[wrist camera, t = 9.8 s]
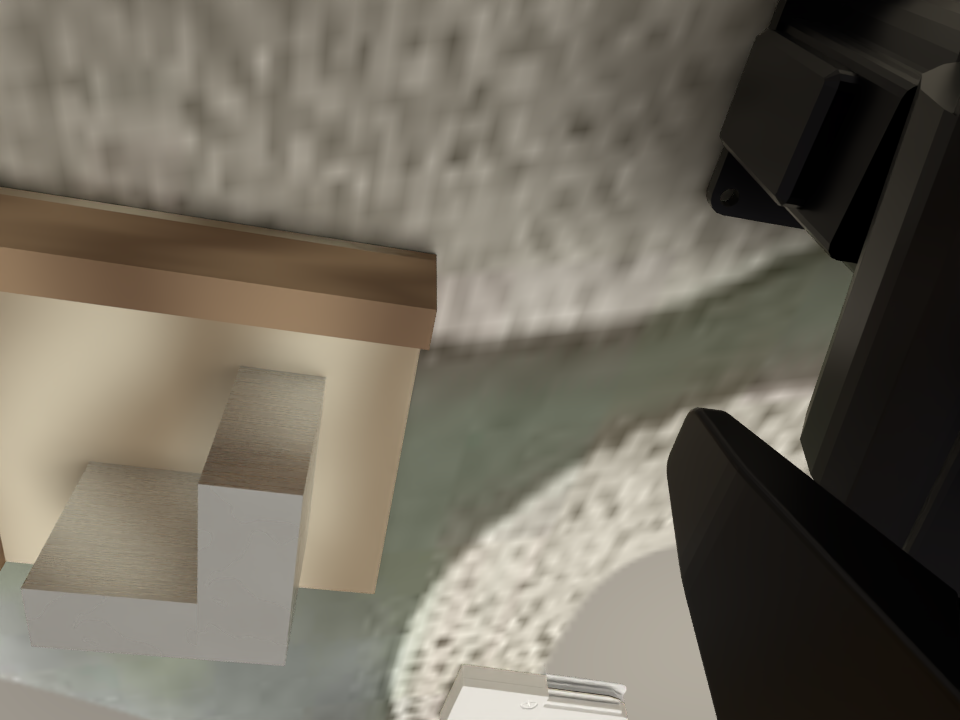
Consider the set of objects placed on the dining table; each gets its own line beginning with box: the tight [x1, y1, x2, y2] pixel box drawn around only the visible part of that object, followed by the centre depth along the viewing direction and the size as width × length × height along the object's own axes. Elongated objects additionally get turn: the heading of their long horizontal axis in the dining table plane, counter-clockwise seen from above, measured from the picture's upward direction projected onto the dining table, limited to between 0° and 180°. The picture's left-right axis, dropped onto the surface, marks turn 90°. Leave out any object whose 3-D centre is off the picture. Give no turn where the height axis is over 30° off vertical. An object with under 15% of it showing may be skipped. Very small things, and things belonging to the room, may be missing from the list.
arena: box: [0, 187, 437, 594], centre depth 23 cm, size 14×14×3 cm
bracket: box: [21, 366, 326, 666], centre depth 23 cm, size 7×7×5 cm
